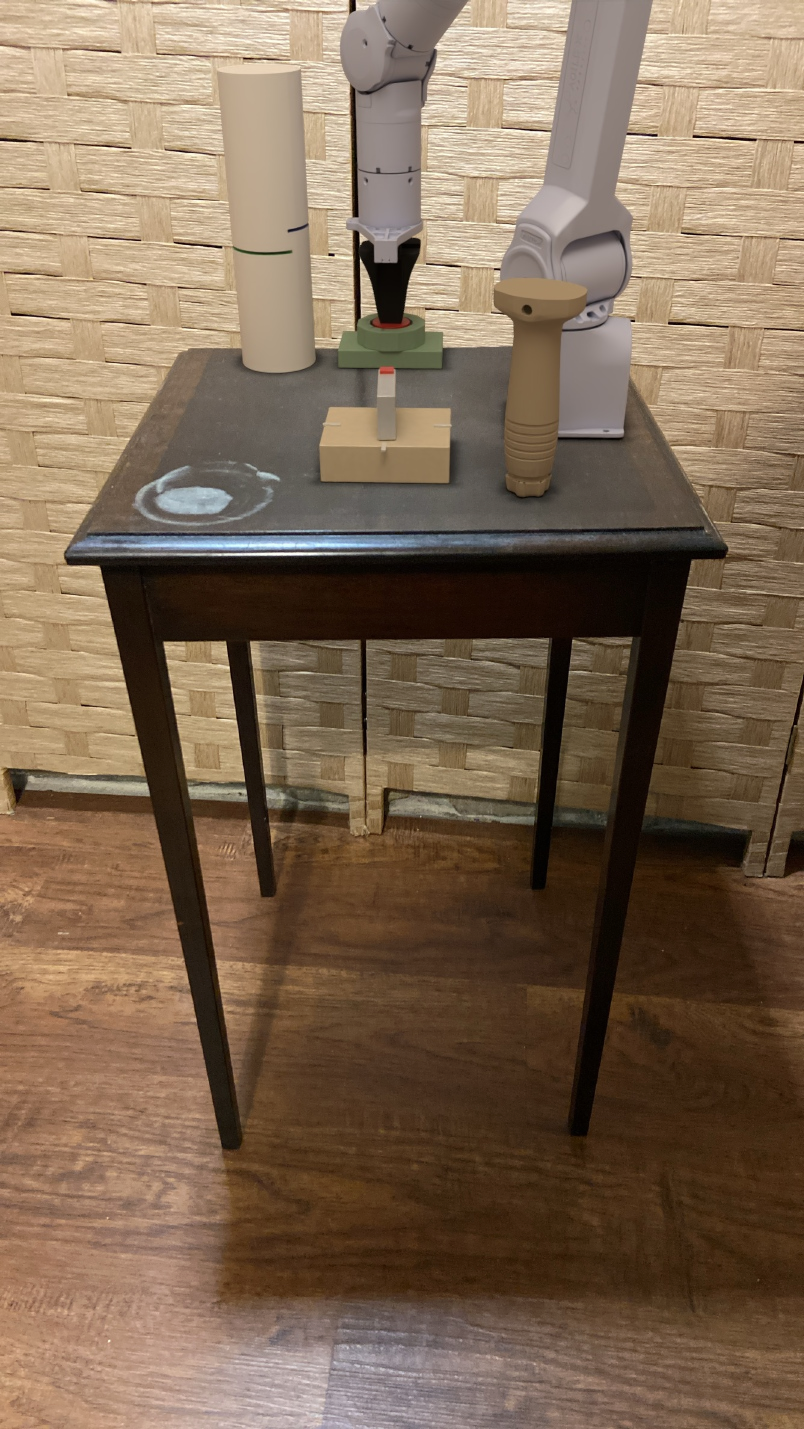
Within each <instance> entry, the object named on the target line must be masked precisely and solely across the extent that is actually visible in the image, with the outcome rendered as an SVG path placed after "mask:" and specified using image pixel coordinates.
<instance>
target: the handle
mask: <svg viewBox="0 0 804 1429" xmlns="http://www.w3.org/2000/svg"><path fill="white" fill-rule="evenodd" d="M492 296H493V298H492V302H493V306H494V309H496V310H498V311H499V312H501V313H502V314H503V315H505V316H506V317H507V318H509V319H510V321H512V328H513V330H512V331H513V332H512V334H513V338H512V348H511V349H512V350H511V357H510V358H511V359H510V369H509V377H508V387H507V393H506V394H507V395H506V403H505V404H506V405H505V413H504V414H505V416H504V430H503V432H504V434H503V439H504V444H503V446H504V460H505V468H506V471H507V473H505V485H506V489H507V490H508V491H509V492H513V493H514V494H516V496H517V497H519V498H525V497H541V496H543V495H544V494H545V491H548V489H549V487H550V484H551V479H552V473H551V471H552V468H553V464H554V462H555V456H556V451H557V444H558V439H559V437H558V426H559V402H560V352H561V334H562V328H563V324H564V323H565V322H567V321H568V320H571V319H573V318H575V317H576V316H578V315H579V314H581V313H582V312H583V311H584V310H585V306H586V300H587V289H586V287H583V286H580V285H577V284H573V283H570V282H565V281H559V280H551V279H542V278H510V279H505V280H502V281H500V280H499V281H498V282H496V283H495V284H494V286H493V295H492Z"/></svg>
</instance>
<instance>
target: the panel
mask: <svg viewBox="0 0 804 1429" xmlns="http://www.w3.org/2000/svg"><path fill="white" fill-rule="evenodd" d="M322 427H323V429H322V433H321V437H320V439H319V440H320V441H319V443H318V444H319V445H318V452H319V470H320V482H322V483H323V482H324V483H325V482H328V483H392V484H393V483H395V484H397V483H398V484H400V483H401V484H402V483H403V484H450V473H451V472H450V470H451V468H450V467H451V466H450V465H451V433H452V432H451V431H452V427H453V425H452V408H450V407H447V408H446V407H396V440H378V429H377V407H358V406H357V407H356V406H355V407H353V406H352V407H351V406H345V407H344V406H329V407H328V410H327V415H326V418H325V422H322Z"/></svg>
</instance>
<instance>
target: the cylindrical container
mask: <svg viewBox="0 0 804 1429" xmlns="http://www.w3.org/2000/svg"><path fill="white" fill-rule="evenodd" d="M216 76H217V87H218V88H217V90H218V98H219V99H218V100H219V111H220V121H221V133H222V134H221V135H222V144H223V156H224V166H225V168H224V169H225V176H226V177H225V179H226V188H227V189H226V190H227V202H228V213H229V222H230V224H229V225H230V233H231V244H232V256H233V258H232V259H233V267H234V281H235V290H236V301H237V302H236V303H237V313H238V325H239V335H240V336H239V337H240V344H241V346H240V347H241V355H242V356H241V357H242V365H243V366H244V367H245V368H247V369H250V370H252V371H255V372H260V373H268V374H269V373H270V374H280V373H283V374H284V373H292V372H297V371H301V370H305V369H307V368H310V367H311V366H313V365H314V364H315V363H316V361H317V360H316V358H317V357H316V340H315V339H316V338H315V320H314V318H315V317H314V296H313V280H312V279H313V278H312V276H313V275H312V260H311V259H312V258H311V240H310V239H311V238H310V224H309V220H310V219H309V203H308V200H309V199H308V198H309V197H308V181H307V161H306V158H307V157H306V140H305V122H304V104H303V103H304V101H303V82H302V68H301V66H298V65H294V64H285V63H242V64H241V63H240V64H233V65H226V66H221V67H218V68H216Z"/></svg>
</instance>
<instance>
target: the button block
mask: <svg viewBox="0 0 804 1429" xmlns="http://www.w3.org/2000/svg"><path fill="white" fill-rule="evenodd" d="M403 317H404V318H407V319H408V320H409V321H410V326H408V327H405V328H399V329H382V328H376V327H373V320H374V319H376V318H378V314H377V313H371V314H368V315H367V314H366V315H365V316H363V317H361V318H359V319H358V320H357V324H356V330H343V331H342V334H341V338H340V342H339V345H338V348H337V366H338V369H380V367H394V369H423V370H424V369H429V370H431V369H432V370H433V369H434V370H435V369H436V370H437V369H439V370H441V369H443V353H444V332H443V331H426V319H424V318H423V317H421V316H419V315H417V314H413V313H406V312H404V315H403Z"/></svg>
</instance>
